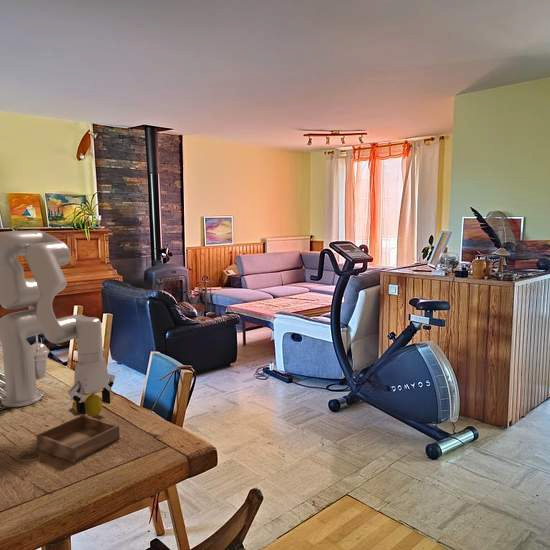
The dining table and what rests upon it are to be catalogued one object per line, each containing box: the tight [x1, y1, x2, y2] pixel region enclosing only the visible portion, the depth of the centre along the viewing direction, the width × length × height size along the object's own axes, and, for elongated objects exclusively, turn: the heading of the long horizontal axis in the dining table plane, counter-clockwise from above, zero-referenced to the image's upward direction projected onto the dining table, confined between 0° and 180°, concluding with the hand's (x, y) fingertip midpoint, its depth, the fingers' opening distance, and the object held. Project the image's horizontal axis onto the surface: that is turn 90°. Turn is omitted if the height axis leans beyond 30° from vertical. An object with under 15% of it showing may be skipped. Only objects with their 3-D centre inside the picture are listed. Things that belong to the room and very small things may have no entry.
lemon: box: [85, 393, 103, 419], centre depth 154 cm, size 6×6×8 cm
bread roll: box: [71, 394, 91, 413], centre depth 163 cm, size 8×9×4 cm
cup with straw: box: [30, 335, 50, 379], centre depth 193 cm, size 8×9×20 cm
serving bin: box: [36, 414, 121, 464], centre depth 137 cm, size 16×16×4 cm
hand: (94, 407), depth 154 cm, fingers open, 9 cm apart
